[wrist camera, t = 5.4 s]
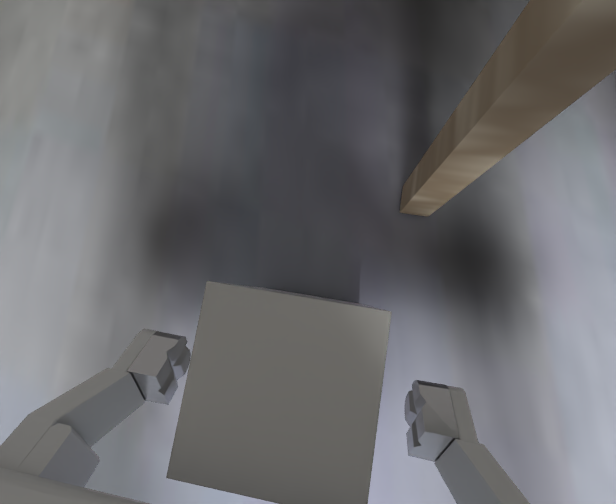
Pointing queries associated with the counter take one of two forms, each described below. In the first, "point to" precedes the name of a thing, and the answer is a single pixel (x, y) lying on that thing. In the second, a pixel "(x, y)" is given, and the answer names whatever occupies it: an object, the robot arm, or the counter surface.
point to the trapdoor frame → (516, 95)
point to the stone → (282, 396)
